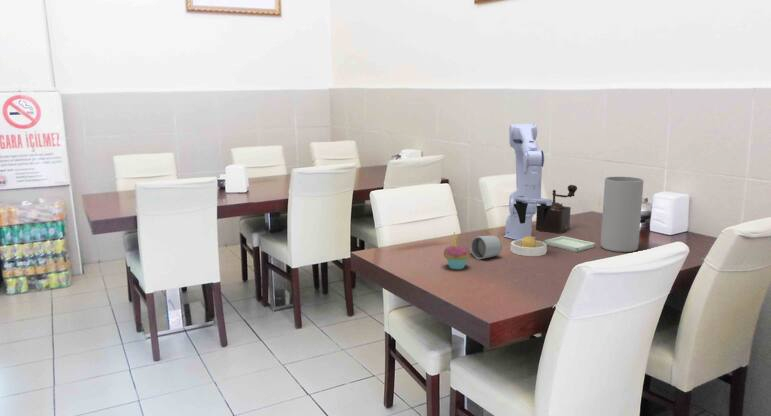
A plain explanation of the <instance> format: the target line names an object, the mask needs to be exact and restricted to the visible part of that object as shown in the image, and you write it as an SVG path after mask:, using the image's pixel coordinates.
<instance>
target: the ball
mask: <svg viewBox="0 0 771 416" xmlns="http://www.w3.org/2000/svg"><path fill="white" fill-rule="evenodd" d="M532 236H533V235H531V236H526V237H524V238H523V239H522V246H523V247H528V248H535V246H536V239H534V238H533V237H534V236H533V237H532Z"/></svg>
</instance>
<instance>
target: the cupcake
mask: <svg viewBox="0 0 771 416" xmlns="http://www.w3.org/2000/svg"><path fill="white" fill-rule="evenodd" d="M452 236H453V245H449V246H447V247H446V248H445V249H444V250H443V256H444V258H445V259H446V262H447V264H448V267H449V268H450V269H452V270H462V269H464V268H465V265H466V263H467V262H468V259H469V258H470V257H471V251H470V249H468V248H467V247H465V246H464V245H460V244H457V240H456V239H457V237H456V233H455V231H453V235H452Z"/></svg>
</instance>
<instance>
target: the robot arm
mask: <svg viewBox="0 0 771 416" xmlns="http://www.w3.org/2000/svg"><path fill="white" fill-rule="evenodd" d="M508 129H509V131H508V137H509V141H508V142H509V147H511V148H512V149H514V154H515V176H516V177H515V180H516V181H515V183H516V190H515V191H513V192H512V193H511V194H510V195H509V198H508V199H509V202H508V213H510V214H509V215H508V216H507V217H506V220H505V235H503V237H504V238H507V239H511V240H514V241H515V240H522V239H523V238H524V237H526V236H532V237H533V238H534V239H535V240H536V239H537V237H536V236H533V235H532V228H533V217H534V216H535V215H537V211H538V226H543V225H544V221H545V218H546V216H547V213H548V212H549V210H550V208H551V206H550V205H552V202H553V199H549V198H548V199H547V198H542V177H543V173H542V172H543V167H544V164H545V152H544V150H543V149H540V148H539V144H538V142H537V141H536V140H537V136H538V125H537V124H536V122H535V123H511V124H510V125H509V128H508Z"/></svg>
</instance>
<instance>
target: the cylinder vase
mask: <svg viewBox="0 0 771 416" xmlns="http://www.w3.org/2000/svg"><path fill="white" fill-rule="evenodd" d="M643 191H644V179H643V178H639V177H631V176H608V177H607V176H606V177H605V178H604V187H603V202H602V203H603V204H602V216H601V217H602V218H601V219H602V220H601V234H600V247H601V248H602V249H604V250H607V251H611V252H615V253H632V252H635V251H637V250H638V249H639V241H640V232H641V231H640V229H641V216H642V205H643V193H644V192H643Z"/></svg>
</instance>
